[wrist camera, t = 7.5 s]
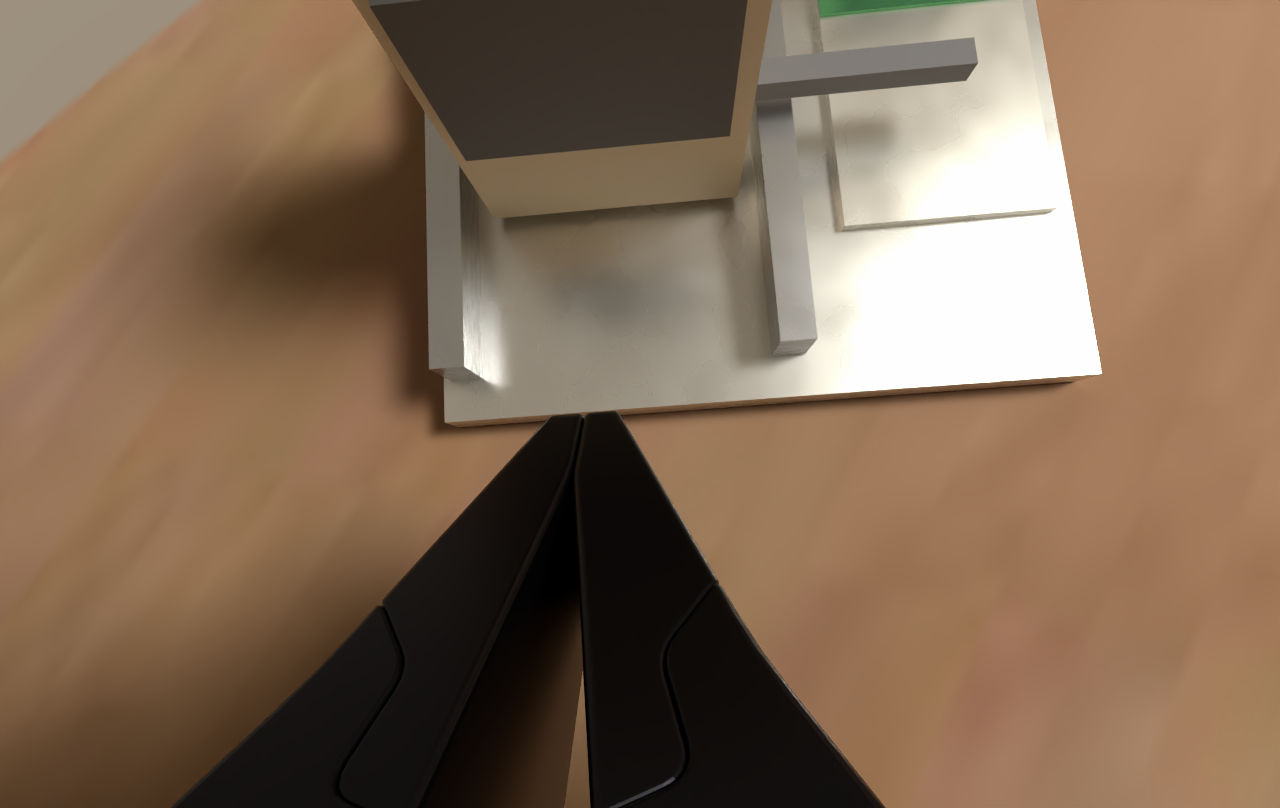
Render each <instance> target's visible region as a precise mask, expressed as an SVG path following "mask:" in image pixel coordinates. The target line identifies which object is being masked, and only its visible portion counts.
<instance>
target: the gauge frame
mask: <svg viewBox="0 0 1280 808" xmlns="http://www.w3.org/2000/svg"><path fill="white" fill-rule="evenodd" d="M972 37H974V40H975V46H976V52H977V58H978V64H977V66H976V67H975V69H974V70H973V72H972V73H971V75H970V76H969V78H968V79H967V81H960V82H949V83H939V84H929V85H918V86H908V87H898V88H888V89H877V90H867V91H857V92H846V93H836V94H826V95H816V96H805V97H795V98H785V99H774V100H764V101H754V107H753V112H752V118H751V123H750V129H749V134H748V140H747V146H746V151H745V157H744V162H743V168H742V174H741V179H740V185H739V190H738V196H737V197H730V198H719V199H708V200H697V201H685V202H674V203H663V204H652V205H641V206H630V207H619V208H608V209H597V210H586V211H575V212H563V213H552V214H541V215H530V216H519V217H508V218H497V219H494V218H493V216H492V214H491V213H490V211H489V210H488V208H487V207H486V205H485V204H484V202H483V201H482V199H481V198H480V196H479V194H478V193H477V191H476V190H475V188H474V187H473V185H472V184H471V182H470V181H469V179H468V178H467V176H466V174H465V173H464V171H463V170H462V168H461V167H460V165H459V164H458V162H457V161H456V159H455V158H454V156H453V154H452V153H451V151H450V150H449V148H448V147H447V145H446V144H445V142H444V141H443V139H442V138H441V136H440V134H439V133H438V131H437V130H436V128H435V127H434V125H433V124H432V122H431V121H430V119H429V118H428V116H427V114H426V113H425V166H426V223H427V280H428V338H429V369H430V370H431V371H433V372H435V373H437V374H439V375H441V376H442V377H444V416H445V423H447V424H450V425H453V426H456V427H470V426H484V425H497V424H510V423H524V422H537V421H547V419H548V418H550V417H551V416H553V415H563V414H577V413H579V414H582V415H583V416H584V417H585V416H586V415H587V414H588V413H591V412H604V411H616V412H618V413H619V414H620V415H632V414H645V413H658V412H672V411H685V410H699V409H712V408H726V407H739V406H753V405H766V404H779V403H793V402H806V401H820V400H833V399H847V398H860V397H874V396H887V395H900V394H914V393H927V392H941V391H954V390H968V389H981V388H995V387H1008V386H1021V385H1035V384H1048V383H1062V382H1075V381H1079V380H1082V379H1086V378H1089V377H1092V376H1095V375H1098V374H1101V368H1100V362H1099V356H1098V351H1097V345H1096V339H1095V334H1094V328H1093V322H1092V317H1091V311H1090V305H1089V300H1088V294H1087V289H1086V283H1085V277H1084V272H1083V266H1082V260H1081V255H1080V249H1079V243H1078V238H1077V232H1076V226H1075V221H1074V215H1073V210H1072V204H1071V198H1070V193H1069V187H1068V181H1067V176H1066V170H1065V164H1064V159H1063V153H1062V147H1061V142H1060V136H1059V131H1058V125H1057V119H1056V114H1055V108H1054V102H1053V97H1052V91H1051V85H1050V80H1049V74H1048V68H1047V63H1046V57H1045V52H1044V46H1043V40H1042V35H1041V29H1040V23H1039V18H1038V12H1037V6H1036V1H1035V0H772V6H771V12H770V17H769V23H768V28H767V34H766V39H765V45H764V51H763V56H762V59H763V58H773V57H783V56H792V55H802V54H812V53H822V52H832V51H842V50H852V49H862V48H872V47H882V46H892V45H902V44H912V43H922V42H932V41H942V40H952V39H962V38H972Z"/></svg>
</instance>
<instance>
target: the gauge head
mask: <svg viewBox="0 0 1280 808" xmlns="http://www.w3.org/2000/svg"><path fill="white" fill-rule="evenodd" d="M352 1H353V2H354V4H355V5H356V7H357V8H358V10H359V11H360V13H361V14H362V16H363V18H364V19H365V21H366V22H367V24H368V25H369V27H370V28H371V30H372V31H373V33H374V34H375V36H376V38H377V39H378V41H379V42H380V44H381V45H382V47H383V48H384V50H385V51H386V53H387V54H388V56H389V58H390V59H391V61H392V62H393V64H394V65H395V67H396V68H397V70H398V71H399V73H400V74H401V76H402V78H403V79H404V81H405V82H406V84H407V85H408V87H409V88H410V90H411V91H412V93H413V94H414V96H415V98H416V99H417V101H418V102H419V104H420V105H421V107H422V108H423V110H424V111H425V113H426V114H427V116H428V118H429V119H430V121H431V122H432V124H433V125H434V127H435V128H436V130H437V131H438V133H439V134H440V136H441V138H442V139H443V141H444V142H445V144H446V145H447V147H448V148H449V150H450V151H451V153H452V154H453V156H454V158H455V159H456V161H457V162H458V164H459V165H460V167H461V168H462V170H463V171H464V173H465V174H466V176H467V178H468V179H469V181H470V182H471V184H472V185H473V187H474V188H475V190H476V191H477V193H478V194H479V196H480V198H481V199H482V201H483V202H484V204H485V205H486V207H487V208H488V210H489V211H490V213H491V214H492V216H493V218H494V219H497V218H508V217H519V216H530V215H541V214H552V213H563V212H575V211H586V210H597V209H608V208H619V207H630V206H641V205H652V204H663V203H674V202H685V201H697V200H708V199H719V198H730V197H737V196H738V190H739V185H740V179H741V174H742V168H743V162H744V157H745V151H746V146H747V140H748V134H749V129H750V123H751V118H752V112H753V107H754V101H764V100H774V99H785V98H795V97H805V96H816V95H826V94H836V93H846V92H857V91H867V90H877V89H888V88H898V87H908V86H918V85H929V84H939V83H949V82H960V81H967V79H968V78H969V76H970V75H971V73H972V72H973V70H974V69H975V67H976V66H977V64H978V58H977V52H976V46H975V40H974V37H972V38H962V39H952V40H942V41H932V42H922V43H912V44H902V45H892V46H882V47H872V48H862V49H852V50H842V51H832V52H822V53H812V54H802V55H792V56H783V57H773V58H763V59H762V56H763V51H764V45H765V39H766V34H767V28H768V23H769V17H770V12H771V6H772V0H352Z"/></svg>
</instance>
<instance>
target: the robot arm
mask: <svg viewBox="0 0 1280 808" xmlns="http://www.w3.org/2000/svg"><path fill="white" fill-rule="evenodd" d="M382 605H383V607H384V608H383V607H382V606H376V607H375V608H374V609H373V611H372V612H371V613H370V614H369V615H368V616H367V617H366V618H365V619H364V620H363V621H362V623H361V624H360V625H359V626H358V627H357V628H356V629H355V630H354V631H353V632H352V633H351V634H350V636H349V637H348V638H347V639H346V640H345V641H344V642H343V643H342V644H341V645H340V646H339V647H338V648H337V649H336V650H335V651H334V652H333V653H332V654H331V655H330V656H329V657H328V658H327V660H326V661H325V662H324V663H323V664H322V665H321V666H320V667H319V668H318V669H317V670H316V671H315V672H314V673H313V674H312V675H311V676H310V677H309V678H308V679H307V680H306V681H305V682H304V683H303V684H302V685H301V686H300V687H299V688H297V689H296V690H295V691H294V692H293V693H292V694H291V695H290V696H289V697H288V698H287V699H286V700H285V701H284V702H283V703H282V704H281V705H280V706H279V707H278V708H277V709H276V710H275V711H274V712H273V713H271V714H270V715H269V716H268V717H267V718H266V719H265V720H264V721H263V722H262V723H261V724H260V725H259V726H258V727H257V728H256V729H254V730H253V731H252V732H251V733H250V734H249V735H248V736H247V737H246V738H245V739H244V740H243V741H241V742H240V743H239V744H238V745H237V746H236V747H235V748H234V749H233V750H232V751H231V752H230V753H229V754H227V755H226V756H225V757H224V758H223V759H222V760H221V761H220V762H219V763H218V764H217V765H216V766H214V767H213V768H212V769H211V770H210V771H209V772H208V773H207V774H206V775H205V776H204V777H203V778H201V779H200V780H199V781H198V782H197V783H196V784H195V785H194V786H193V787H192V788H191V789H190V790H189V791H187V792H186V793H185V794H184V795H183V796H182V797H181V798H180V799H179V800H178V801H177V802H176V803H174V804H173V805H172V806H171V807H170V808H564V803H565V796H566V789H567V781H568V774H569V767H570V759H571V752H572V745H573V737H574V730H575V723H576V715H577V708H578V701H579V693H580V686H581V678H582V671H583V675H584V694H585V712H586V731H587V749H588V767H589V786H590V804H591V808H885V806H884V805H883V804H882V803H881V801H880V800H879V799H878V798H877V796H876V795H875V794H874V793H873V791H872V790H871V789H870V788H869V786H868V785H867V784H866V783H865V781H864V780H863V779H862V778H861V776H860V775H859V774H858V773H857V771H856V770H855V769H854V768H853V766H852V765H851V764H850V763H849V761H848V760H847V759H846V758H845V756H844V755H843V754H842V753H841V751H840V750H839V749H838V748H837V746H836V745H835V744H834V743H833V741H832V740H831V739H830V738H829V736H828V735H827V734H826V733H825V731H824V730H823V729H822V728H821V726H820V725H819V724H818V723H817V721H816V720H815V719H814V718H813V716H812V715H811V714H810V713H809V711H808V710H807V709H806V708H805V706H804V705H803V704H802V703H801V701H800V700H799V699H798V698H797V696H796V695H795V694H794V693H793V691H792V690H791V689H790V687H789V686H788V685H787V683H786V682H785V680H784V679H783V678H782V676H781V675H780V674H779V672H778V671H777V670H776V668H775V667H774V666H773V664H772V663H771V662H770V660H769V659H768V658H767V656H766V655H765V654H764V652H763V651H762V650H761V648H760V646H759V645H758V643H757V642H756V640H755V639H754V637H753V636H752V634H751V633H750V631H749V629H748V628H747V626H746V625H745V623H744V622H743V620H742V619H741V617H740V616H739V614H738V612H737V611H736V609H735V607H734V606H733V604H732V602H731V601H730V599H729V597H728V596H727V594H726V592H725V591H724V589H723V587H722V586H720V585H719V582H718V579H717V578H716V576H715V574H714V573H713V571H712V569H711V568H710V566H709V564H708V563H707V561H706V559H705V557H704V556H703V554H702V552H701V551H700V549H699V547H698V546H697V544H696V542H695V541H694V539H693V537H692V536H691V534H690V532H689V530H688V529H687V527H686V525H685V524H684V522H683V520H682V519H681V517H680V515H679V514H678V512H677V510H676V508H675V507H674V505H673V503H672V502H671V500H670V498H669V497H668V495H667V493H666V492H665V490H664V488H663V487H662V485H661V483H660V481H659V480H658V478H657V476H656V475H655V473H654V471H653V470H652V468H651V466H650V465H649V463H648V461H647V459H646V458H645V456H644V454H643V453H642V451H641V449H640V448H639V446H638V444H637V443H636V441H635V439H634V438H633V436H632V434H631V432H630V431H629V429H628V427H627V426H626V424H625V422H624V421H623V419H622V417H621V416H620V414H619V413H618V412H616V411H604V412H591V413H588V414H587V415H586V416H585V417H584V416H583V415H582V414H579V413H577V414H563V415H553V416H551V417H550V418H548V419H547V421H546V422H545V423H544V424H543V425H542V426H541V427H540V428H539V429H538V430H537V431H536V433H535V434H534V435H533V436H532V437H531V438H530V439H529V440H528V441H527V442H526V443H525V445H524V446H523V447H522V448H521V449H520V450H519V451H518V452H517V453H516V454H515V456H514V457H513V458H512V459H511V460H510V461H509V462H508V463H507V464H506V465H505V466H504V468H503V469H502V470H501V471H500V472H499V473H498V474H497V475H496V476H495V477H494V479H493V480H492V481H491V482H490V483H489V484H488V485H487V486H486V487H485V488H484V489H483V491H482V492H481V493H480V494H479V495H478V496H477V497H476V498H475V499H474V500H473V501H472V503H471V504H470V505H469V506H468V507H467V508H466V509H465V510H464V511H463V512H462V514H461V515H460V516H459V517H458V518H457V519H456V520H455V521H454V522H453V523H452V524H451V526H450V527H449V528H448V529H447V530H446V531H445V532H444V533H443V534H442V535H441V537H440V538H439V539H438V540H437V541H436V542H435V543H434V544H433V545H432V546H431V547H430V549H429V550H428V551H427V552H426V553H425V554H424V555H423V556H422V557H421V558H420V559H419V561H418V562H417V563H416V564H415V565H414V566H413V567H412V568H411V569H410V570H409V572H408V573H407V574H406V575H405V576H404V577H403V578H402V579H401V580H400V581H399V582H398V584H397V585H396V586H395V587H394V588H393V589H392V590H391V591H390V592H389V593H388V595H387V596H386V597H385V598H384V599H383V600H382Z"/></svg>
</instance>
